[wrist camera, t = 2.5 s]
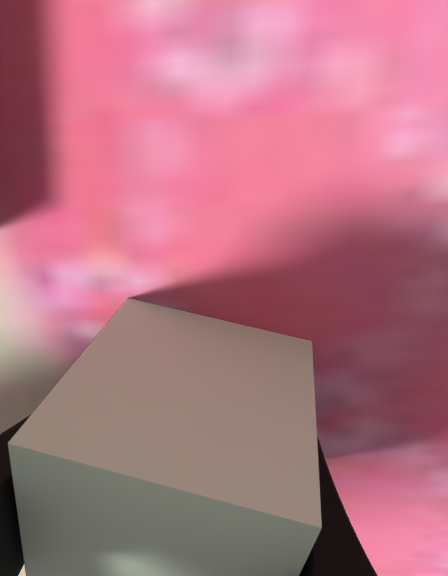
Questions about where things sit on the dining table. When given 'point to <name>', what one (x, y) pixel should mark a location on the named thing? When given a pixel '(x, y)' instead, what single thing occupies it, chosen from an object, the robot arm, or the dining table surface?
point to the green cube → (172, 453)
